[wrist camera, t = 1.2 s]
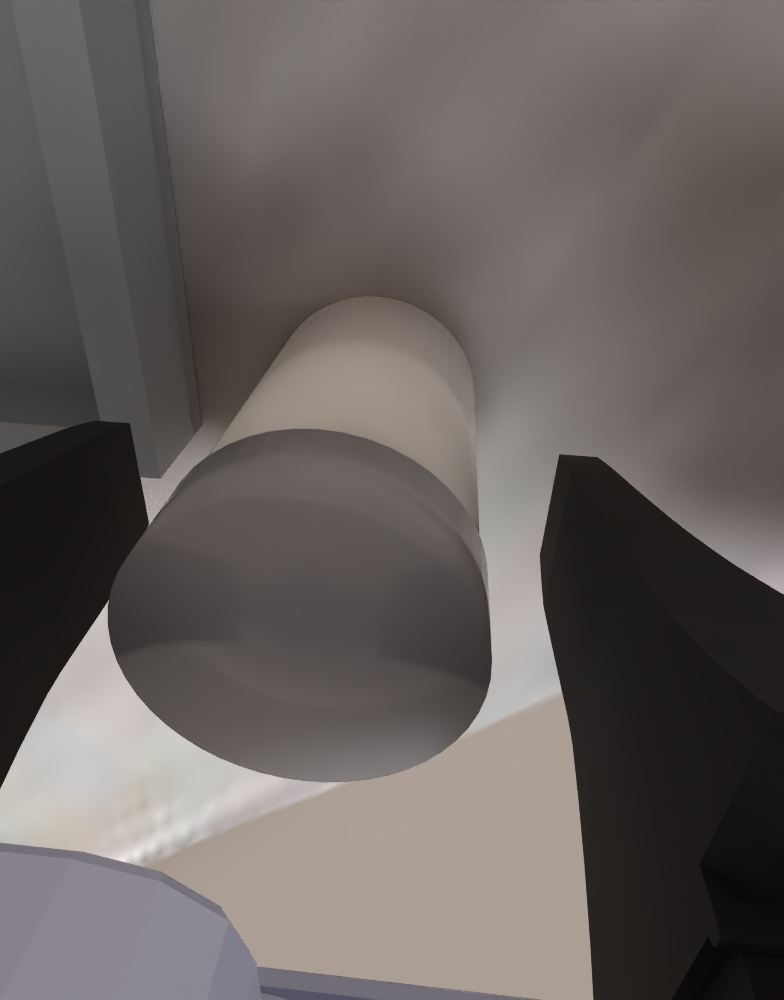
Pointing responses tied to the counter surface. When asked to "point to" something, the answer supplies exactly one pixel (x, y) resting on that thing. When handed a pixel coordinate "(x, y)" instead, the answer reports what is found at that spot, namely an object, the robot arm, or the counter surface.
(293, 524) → the shaker
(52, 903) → the robot arm
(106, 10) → the tray
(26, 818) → the counter surface
